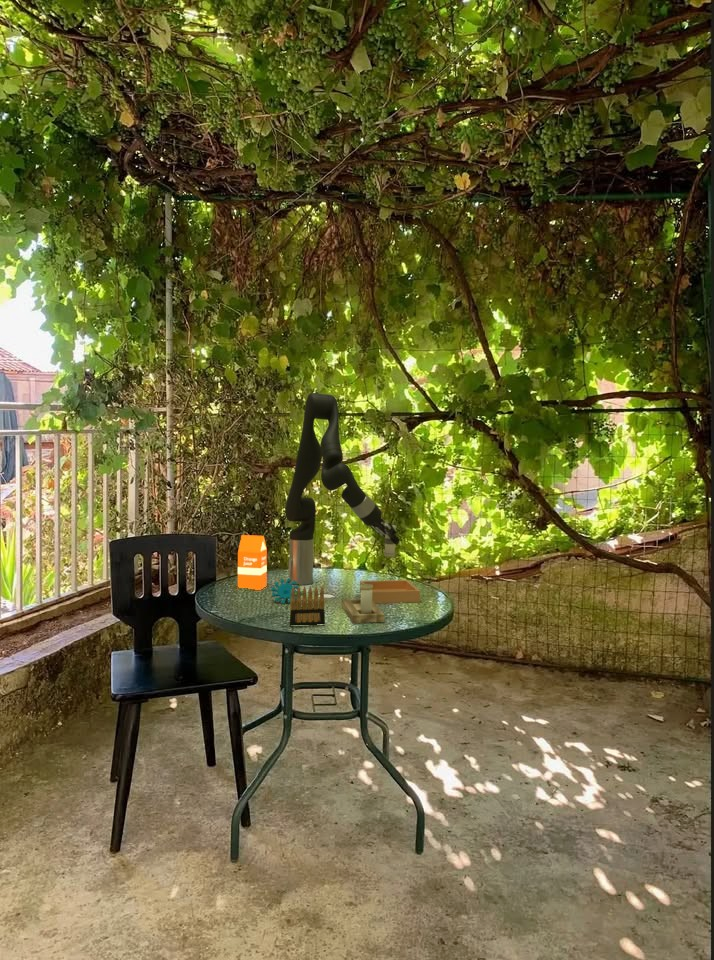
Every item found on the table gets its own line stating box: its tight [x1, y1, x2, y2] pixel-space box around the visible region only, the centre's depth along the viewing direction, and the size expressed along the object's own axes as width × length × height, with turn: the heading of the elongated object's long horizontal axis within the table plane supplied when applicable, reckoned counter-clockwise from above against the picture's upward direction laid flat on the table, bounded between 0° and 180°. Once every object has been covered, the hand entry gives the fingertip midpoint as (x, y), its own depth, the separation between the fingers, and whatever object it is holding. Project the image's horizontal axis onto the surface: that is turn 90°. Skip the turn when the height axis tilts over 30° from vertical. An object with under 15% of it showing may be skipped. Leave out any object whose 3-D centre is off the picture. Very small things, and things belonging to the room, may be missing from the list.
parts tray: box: [359, 579, 421, 605], centre depth 252 cm, size 18×18×4 cm
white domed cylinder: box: [383, 524, 397, 558], centre depth 250 cm, size 4×4×11 cm
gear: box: [271, 577, 303, 605], centre depth 244 cm, size 11×6×10 cm
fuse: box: [359, 584, 373, 614], centre depth 221 cm, size 4×4×11 cm
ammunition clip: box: [289, 585, 326, 626], centre depth 213 cm, size 11×2×12 cm, turn 100°
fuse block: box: [341, 598, 385, 624], centre depth 227 cm, size 10×21×2 cm, turn 10°
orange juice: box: [237, 534, 268, 590], centre depth 261 cm, size 8×9×20 cm
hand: (394, 541), depth 251 cm, fingers closed on white domed cylinder, 3 cm apart
